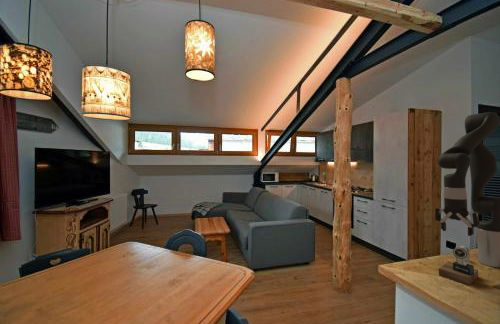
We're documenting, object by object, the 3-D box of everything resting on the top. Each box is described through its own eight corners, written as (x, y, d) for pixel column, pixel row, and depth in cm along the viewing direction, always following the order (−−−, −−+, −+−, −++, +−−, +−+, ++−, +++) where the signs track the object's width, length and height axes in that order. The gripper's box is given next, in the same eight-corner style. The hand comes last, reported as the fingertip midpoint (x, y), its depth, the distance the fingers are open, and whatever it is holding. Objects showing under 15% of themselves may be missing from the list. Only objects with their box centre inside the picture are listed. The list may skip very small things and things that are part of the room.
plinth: (448, 267, 104) (448, 261, 104) (478, 276, 95) (477, 270, 95) (438, 275, 98) (438, 268, 98) (469, 285, 89) (469, 278, 89)
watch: (451, 271, 95) (450, 246, 95) (458, 266, 99) (458, 242, 99) (468, 276, 90) (467, 250, 90) (475, 271, 94) (474, 246, 94)
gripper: (480, 198, 92) (481, 235, 92) (438, 194, 105) (439, 227, 105) (474, 200, 88) (476, 239, 88) (432, 196, 101) (433, 230, 101)
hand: (456, 233), depth 96 cm, fingers open, 8 cm apart
